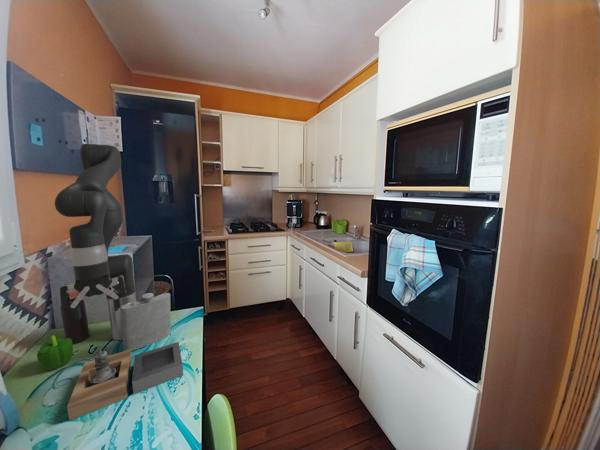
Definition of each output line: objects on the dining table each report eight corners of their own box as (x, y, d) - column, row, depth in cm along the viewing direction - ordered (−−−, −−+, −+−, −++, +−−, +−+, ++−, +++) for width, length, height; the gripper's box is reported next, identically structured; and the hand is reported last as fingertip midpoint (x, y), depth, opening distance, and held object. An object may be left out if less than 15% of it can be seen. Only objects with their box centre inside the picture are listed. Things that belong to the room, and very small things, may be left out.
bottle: (71, 336, 95) (63, 290, 92) (92, 332, 97) (85, 287, 95) (62, 346, 89) (53, 297, 86) (85, 341, 91) (77, 293, 88)
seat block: (136, 366, 78) (134, 355, 78) (179, 351, 85) (178, 341, 85) (133, 394, 67) (132, 382, 67) (183, 375, 74) (182, 363, 74)
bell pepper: (71, 367, 78) (66, 340, 77) (36, 378, 74) (30, 349, 72) (78, 352, 85) (74, 327, 84) (46, 361, 81) (41, 335, 79)
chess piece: (87, 396, 67) (81, 358, 65) (98, 380, 73) (93, 345, 71) (112, 391, 69) (106, 354, 67) (121, 376, 74) (116, 341, 72)
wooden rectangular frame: (86, 374, 75) (84, 363, 74) (131, 359, 81) (130, 349, 81) (69, 420, 60) (66, 406, 59) (127, 398, 66) (125, 385, 66)
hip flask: (168, 330, 98) (168, 286, 94) (172, 334, 95) (172, 290, 91) (122, 348, 86) (119, 299, 82) (125, 354, 83) (123, 304, 79)
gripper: (123, 254, 74) (128, 303, 76) (60, 262, 66) (69, 315, 68) (120, 259, 68) (126, 312, 70) (51, 269, 60) (60, 327, 62)
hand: (98, 314), depth 69 cm, fingers open, 8 cm apart
